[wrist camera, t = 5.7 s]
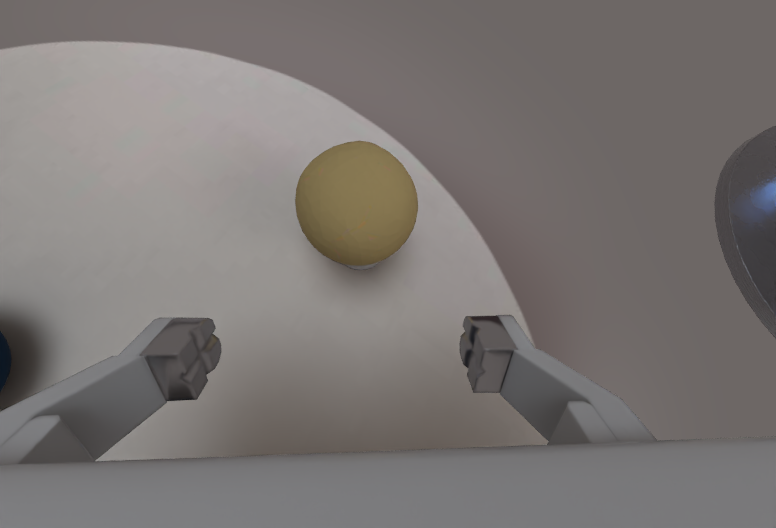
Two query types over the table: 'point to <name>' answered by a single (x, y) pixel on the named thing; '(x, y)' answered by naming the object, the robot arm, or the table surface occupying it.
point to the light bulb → (356, 204)
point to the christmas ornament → (4, 360)
